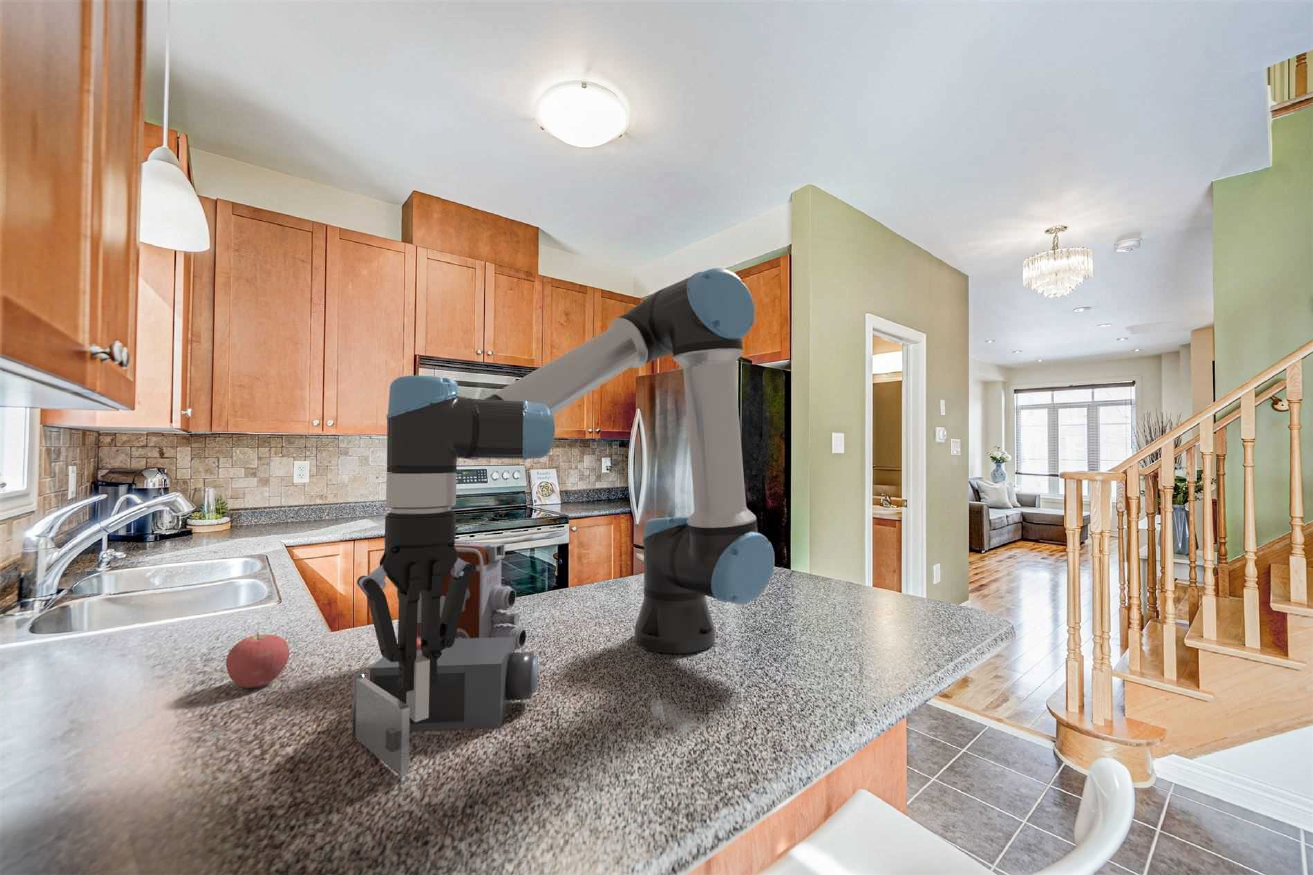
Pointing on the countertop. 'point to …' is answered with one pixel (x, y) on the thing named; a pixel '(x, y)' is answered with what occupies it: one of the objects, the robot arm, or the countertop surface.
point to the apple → (257, 660)
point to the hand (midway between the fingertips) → (417, 715)
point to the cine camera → (483, 596)
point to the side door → (381, 723)
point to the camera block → (468, 683)
